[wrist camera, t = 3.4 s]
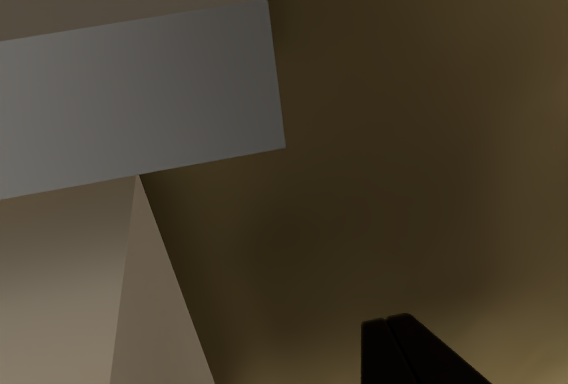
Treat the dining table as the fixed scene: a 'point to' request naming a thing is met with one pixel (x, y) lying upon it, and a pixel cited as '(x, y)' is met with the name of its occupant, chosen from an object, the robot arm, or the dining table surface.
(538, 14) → the dining table surface
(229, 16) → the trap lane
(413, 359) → the robot arm
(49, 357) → the block
